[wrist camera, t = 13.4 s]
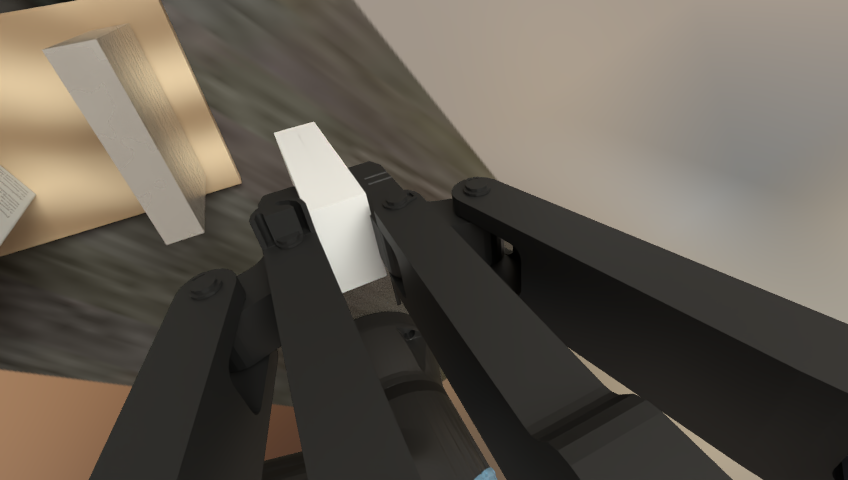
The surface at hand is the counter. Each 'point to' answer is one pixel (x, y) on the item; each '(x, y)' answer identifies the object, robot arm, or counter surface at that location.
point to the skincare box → (12, 202)
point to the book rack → (70, 131)
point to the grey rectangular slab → (135, 126)
